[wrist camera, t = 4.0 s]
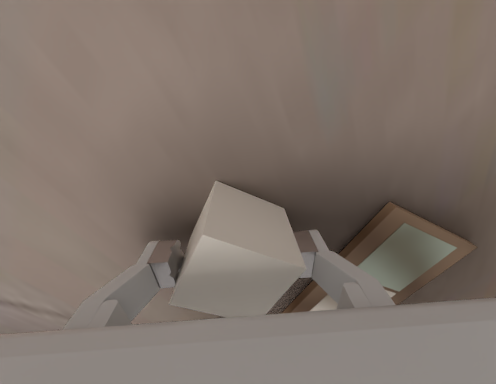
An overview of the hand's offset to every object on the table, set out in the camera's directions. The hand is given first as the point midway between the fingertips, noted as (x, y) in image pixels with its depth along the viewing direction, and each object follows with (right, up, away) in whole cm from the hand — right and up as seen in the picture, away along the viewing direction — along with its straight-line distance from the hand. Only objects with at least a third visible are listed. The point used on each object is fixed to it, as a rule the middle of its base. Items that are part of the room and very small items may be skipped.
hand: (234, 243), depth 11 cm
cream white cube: (0, +1, +2) cm, 2 cm away
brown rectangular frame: (+8, -8, +7) cm, 14 cm away
